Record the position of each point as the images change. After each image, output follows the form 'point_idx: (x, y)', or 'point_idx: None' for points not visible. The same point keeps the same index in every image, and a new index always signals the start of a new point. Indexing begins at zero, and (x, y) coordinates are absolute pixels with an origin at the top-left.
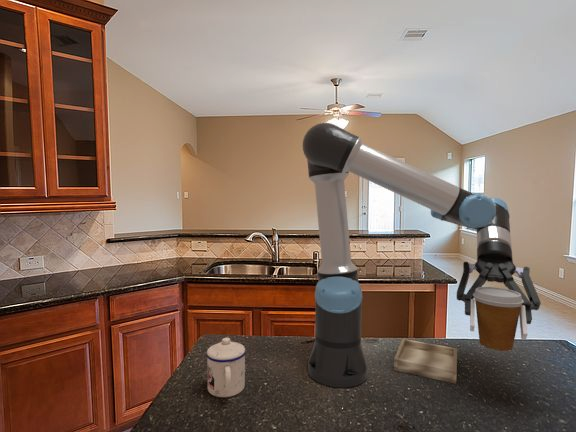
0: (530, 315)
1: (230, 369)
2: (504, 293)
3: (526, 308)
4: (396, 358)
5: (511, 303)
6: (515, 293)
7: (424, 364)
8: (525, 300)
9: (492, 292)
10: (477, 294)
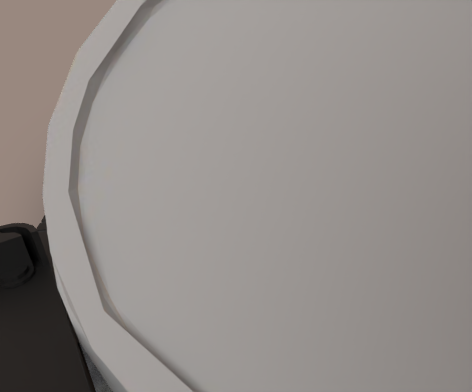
0: (46, 226)
1: None
2: (255, 203)
3: (51, 265)
4: None
5: None
6: (107, 296)
7: None
8: (18, 303)
9: (409, 161)
10: None
